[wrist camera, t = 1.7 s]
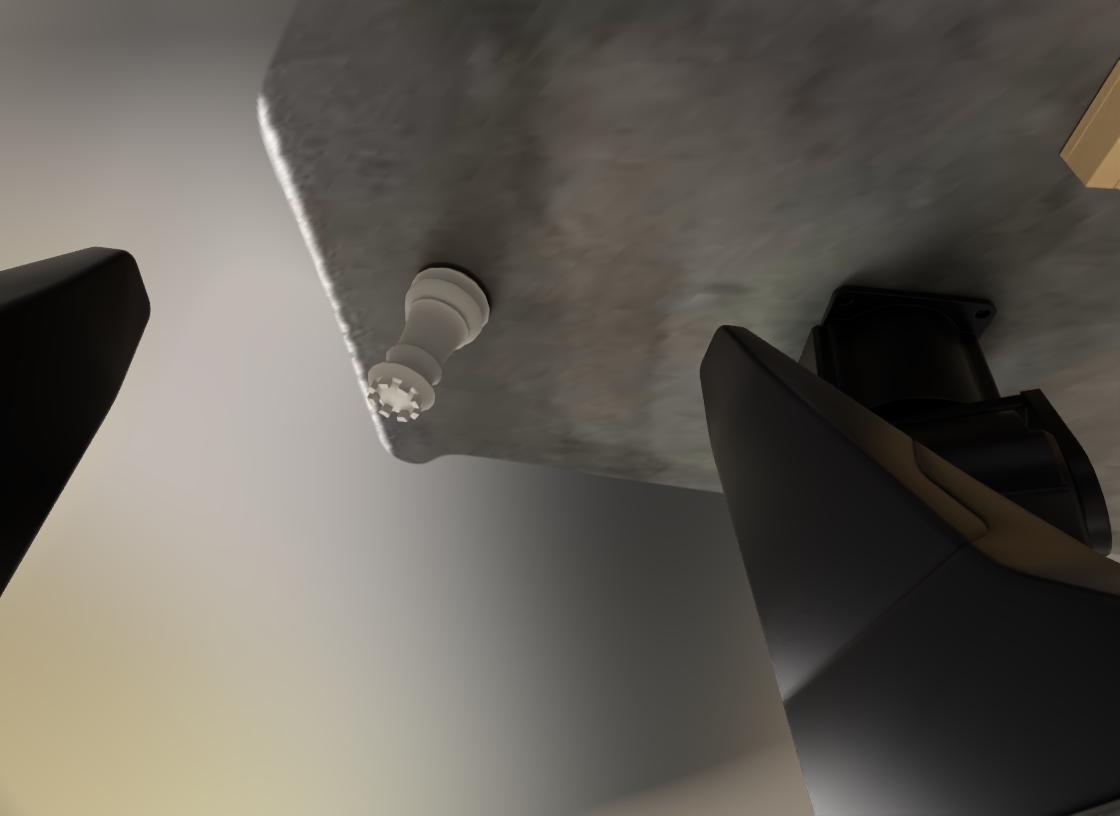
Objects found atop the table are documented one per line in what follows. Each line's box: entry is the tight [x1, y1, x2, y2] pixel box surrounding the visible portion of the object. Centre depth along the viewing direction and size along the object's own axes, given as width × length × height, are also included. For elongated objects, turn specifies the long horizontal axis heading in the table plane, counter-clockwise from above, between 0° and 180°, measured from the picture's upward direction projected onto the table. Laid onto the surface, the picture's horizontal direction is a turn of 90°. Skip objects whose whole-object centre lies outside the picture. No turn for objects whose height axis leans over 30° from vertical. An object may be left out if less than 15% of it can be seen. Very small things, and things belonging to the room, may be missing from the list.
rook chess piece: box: [367, 268, 490, 422], centre depth 28 cm, size 4×4×8 cm
